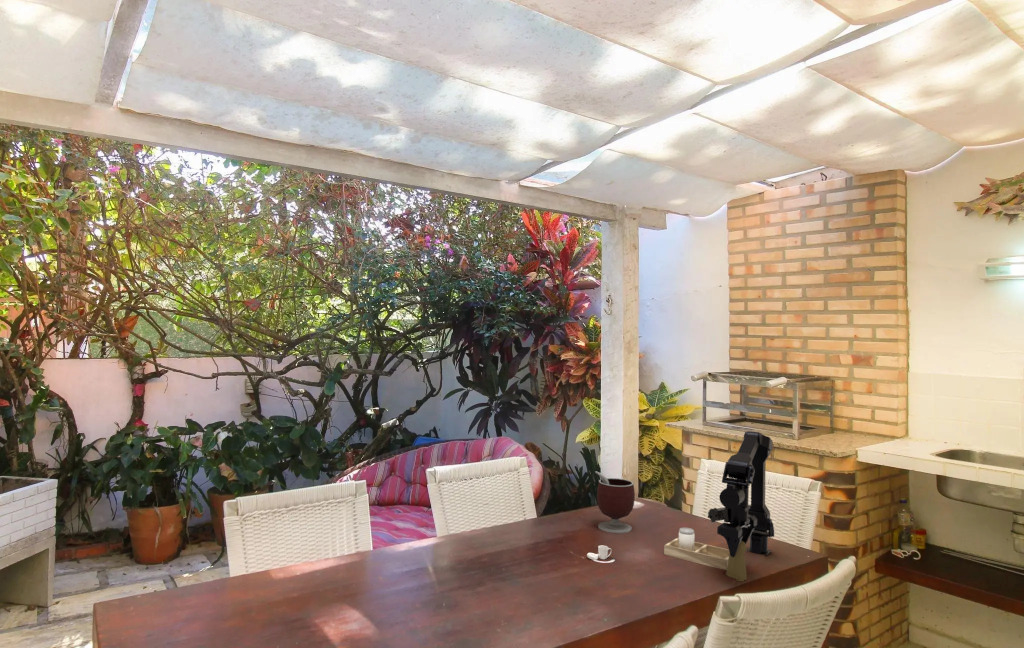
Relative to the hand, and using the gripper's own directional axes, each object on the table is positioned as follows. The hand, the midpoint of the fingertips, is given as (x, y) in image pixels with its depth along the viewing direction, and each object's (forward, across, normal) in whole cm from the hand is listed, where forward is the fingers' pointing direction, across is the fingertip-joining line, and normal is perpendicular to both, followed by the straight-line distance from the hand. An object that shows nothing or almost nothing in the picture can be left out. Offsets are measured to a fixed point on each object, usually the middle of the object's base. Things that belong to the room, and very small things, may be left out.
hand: (736, 553), depth 193 cm
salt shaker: (+6, -8, -19) cm, 21 cm away
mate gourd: (+7, -18, -52) cm, 56 cm away
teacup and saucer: (+8, +12, -41) cm, 44 cm away
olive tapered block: (+7, 0, 0) cm, 7 cm away
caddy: (+7, -8, -14) cm, 17 cm away
